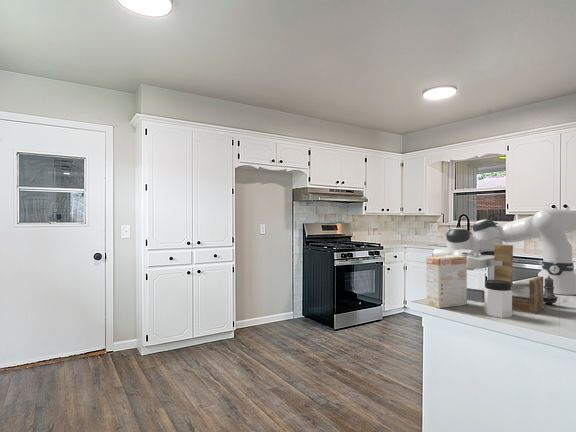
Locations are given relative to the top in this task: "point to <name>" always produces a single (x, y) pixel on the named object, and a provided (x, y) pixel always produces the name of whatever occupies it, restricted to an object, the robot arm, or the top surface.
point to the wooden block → (504, 262)
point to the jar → (498, 298)
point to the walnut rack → (531, 297)
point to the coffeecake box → (446, 281)
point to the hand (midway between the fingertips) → (504, 263)
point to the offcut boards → (520, 300)
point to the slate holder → (475, 295)
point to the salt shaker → (549, 293)
